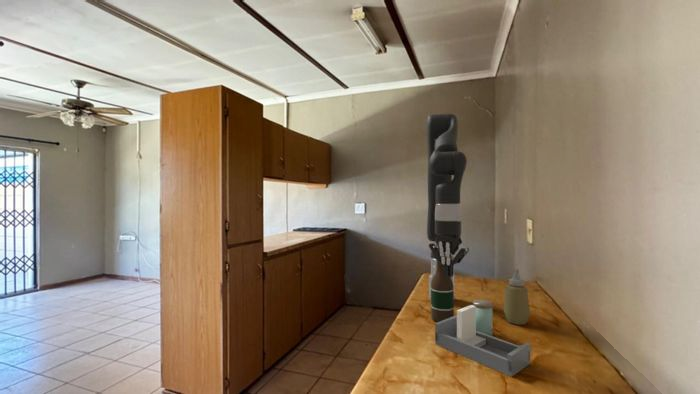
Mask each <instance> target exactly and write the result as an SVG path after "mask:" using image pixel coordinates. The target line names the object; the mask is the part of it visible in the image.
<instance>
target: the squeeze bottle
mask: <svg viewBox="0 0 700 394" xmlns="http://www.w3.org/2000/svg"><path fill="white" fill-rule="evenodd" d="M504 293H505V294H504V300H503V301H504V302H503V312H504V315H505V318H506V321H507V322H508V323H511V324H514V325H518V326H519V325H526V324H527V323H528V320H529V318H530V315H531V311H530V309H531V308H530V303H529V302H530V301H529V293H528V288H527V287H526V286H525V280H524V279H522V278H521V275H520V271H519V268H514V269H513V273H512V277H511V278H509V279H508V284H507V285H505V292H504Z"/></svg>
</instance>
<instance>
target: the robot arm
mask: <svg viewBox="0 0 700 394" xmlns="http://www.w3.org/2000/svg"><path fill="white" fill-rule="evenodd" d="M458 126H459V125H458V119H457V116H456V114H453V113H440V114H439V113H438V114H430V115H428V116H427V119H426V141H427V202H428V203H427V220H426V237H427V239H428V241H429V242H432V243H428V247H429V249H430V251H431V252H430V275H428V298H429V299H430V300H431V281H432V278H433V276H434V275H435V274H436V266H437V261H440V262H441V263H442V264H443V275H444V277H447V278H451V279H452V282H453V287H454V288H455V265H456V264H460V263H461V262H462V260H463V259H464V258H465V256H466V255H467V254H468V252H469V251H470V249H469V247H466V246H465V245H464V244H463V241H462V239H461V236H462V208H461V188H462V187H461V186H462V181H463V177H464V173H465V170H466V168H467V167H466V166H467V163H468V161H467V157H466V155H465V153H464V152H463V151H459V149H458V145H457V141H458ZM452 176H453V177H452Z"/></svg>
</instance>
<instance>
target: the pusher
mask: <svg viewBox="0 0 700 394" xmlns="http://www.w3.org/2000/svg"><path fill="white" fill-rule="evenodd" d="M456 316H457V339H459V340H461V341H464V342H466V343H469V344H472V345H474V346H477V347H479V348H481V347H482V346H484V345H486V339H485V338H482V337H479V336H476V306H473V304H470V305H466V306H465V307H462V308H459V309H457V310H456Z"/></svg>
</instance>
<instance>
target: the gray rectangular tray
mask: <svg viewBox="0 0 700 394" xmlns="http://www.w3.org/2000/svg"><path fill="white" fill-rule="evenodd" d="M434 330H435V331H434V332H435V333H434V335H435V336H434V339H435V340H434V341H435V342H434V343H435V345H436V346H439V347H441V348H444V349H446V350H448V351H451V352H452V353H455V354H457V355H460V356H461V357H465V358H466V359H469V360H471V361H473V362H476V363H479V364H480V365H483V366H486V367H488V368H490V369H492V370H494V371H497V372H499V373H501V374H504V375H506V376H508V377H510V378H512V377H514V376H515V375H516V374H517V373H519V372H520V371H522V370H523V369H524V368H526V367H527V366H529V365H530V364H531V343H529V342H525V343H522V344H521V345H518V344H515V343H512V342H509V341H506V340H504V339H500V338H498V337H495V336H490V335H487V334H484V333H481V332H478V331H476V336H479V337H482V338H485V339H486V345H484V346H482V347H481V348H479V347H477V346H474V345H472V344H469V343H466V342H464V341H461V340H459V339H457V314H456V315H455V314H454V316H453V317H450V318H448V319H445V320H443V321H440V322H438V323H437V322H434Z"/></svg>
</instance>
